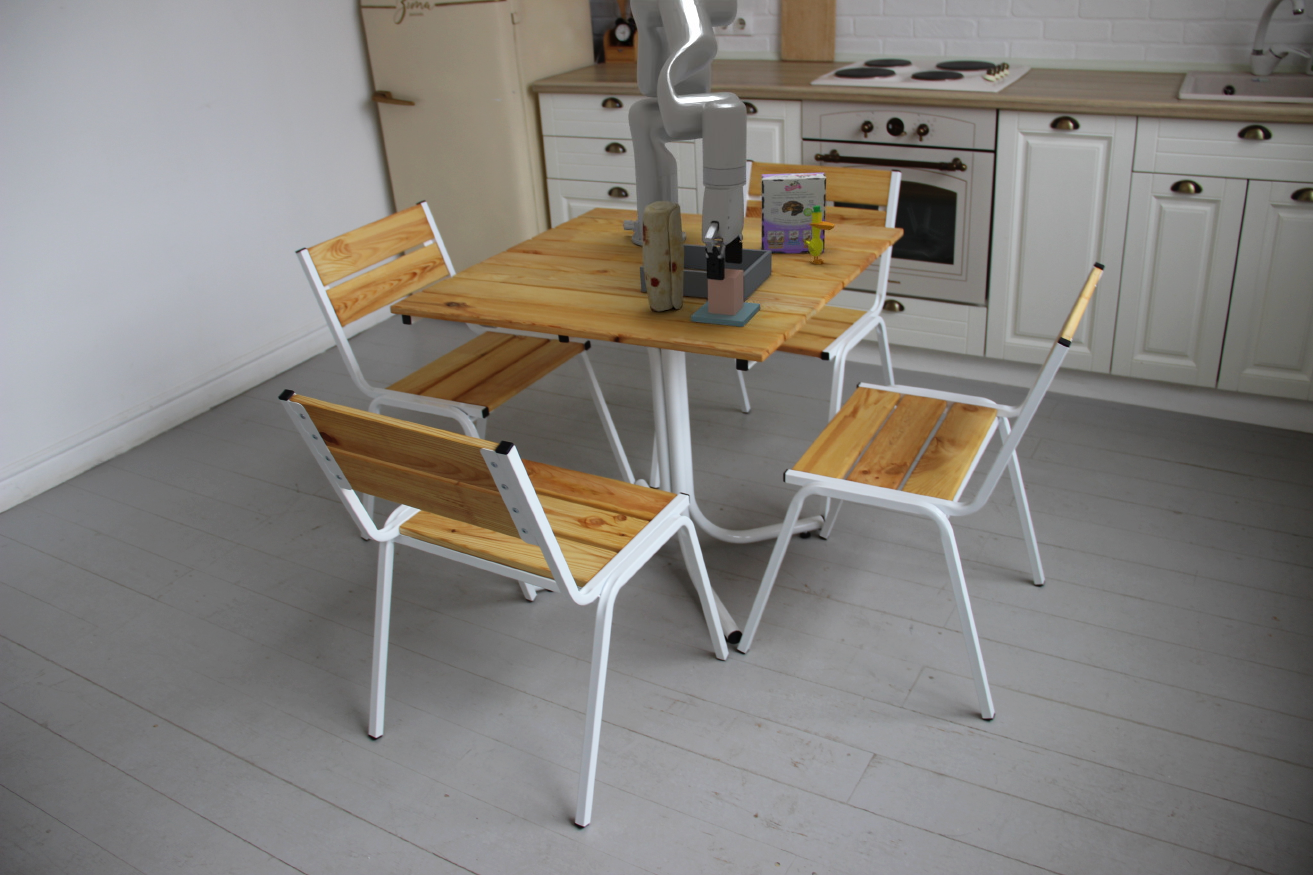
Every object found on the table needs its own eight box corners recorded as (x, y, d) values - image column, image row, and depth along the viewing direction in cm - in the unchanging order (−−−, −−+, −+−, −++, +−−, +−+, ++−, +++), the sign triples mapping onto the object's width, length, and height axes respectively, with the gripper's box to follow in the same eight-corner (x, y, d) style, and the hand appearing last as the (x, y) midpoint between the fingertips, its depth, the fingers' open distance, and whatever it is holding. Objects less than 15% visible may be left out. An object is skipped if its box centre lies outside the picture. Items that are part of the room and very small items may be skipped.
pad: (690, 321, 177) (690, 316, 177) (709, 303, 185) (709, 298, 185) (743, 326, 173) (743, 321, 173) (760, 308, 181) (760, 303, 181)
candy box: (822, 246, 217) (825, 171, 210) (824, 253, 212) (827, 177, 204) (760, 247, 218) (761, 173, 211) (760, 254, 213) (761, 178, 206)
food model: (664, 297, 189) (660, 195, 180) (694, 302, 186) (691, 198, 177) (636, 313, 182) (631, 206, 173) (667, 318, 179) (662, 210, 170)
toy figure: (836, 263, 205) (839, 206, 199) (827, 267, 202) (829, 210, 197) (809, 258, 209) (811, 202, 203) (800, 262, 206) (801, 206, 201)
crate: (640, 291, 194) (639, 267, 191) (674, 266, 208) (673, 243, 206) (744, 301, 186) (744, 276, 183) (771, 274, 200) (771, 250, 198)
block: (708, 312, 178) (707, 275, 175) (718, 304, 182) (717, 267, 179) (734, 315, 176) (733, 278, 173) (743, 306, 180) (743, 270, 177)
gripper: (720, 163, 176) (721, 255, 184) (686, 186, 162) (688, 284, 170) (760, 166, 174) (759, 258, 182) (728, 188, 160) (728, 288, 168)
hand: (724, 271), depth 176 cm, fingers open, 9 cm apart
